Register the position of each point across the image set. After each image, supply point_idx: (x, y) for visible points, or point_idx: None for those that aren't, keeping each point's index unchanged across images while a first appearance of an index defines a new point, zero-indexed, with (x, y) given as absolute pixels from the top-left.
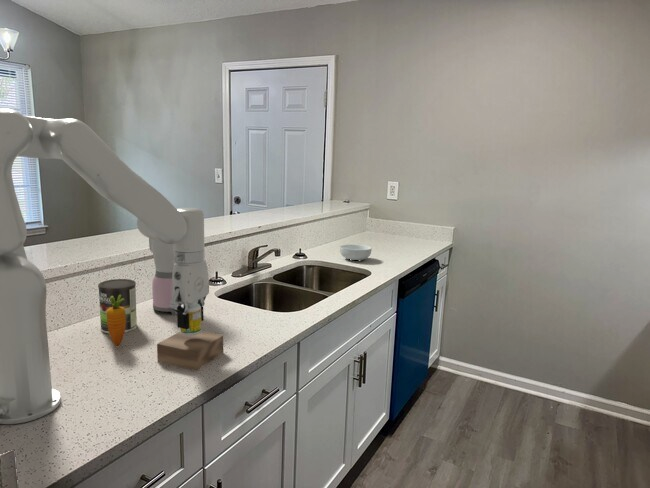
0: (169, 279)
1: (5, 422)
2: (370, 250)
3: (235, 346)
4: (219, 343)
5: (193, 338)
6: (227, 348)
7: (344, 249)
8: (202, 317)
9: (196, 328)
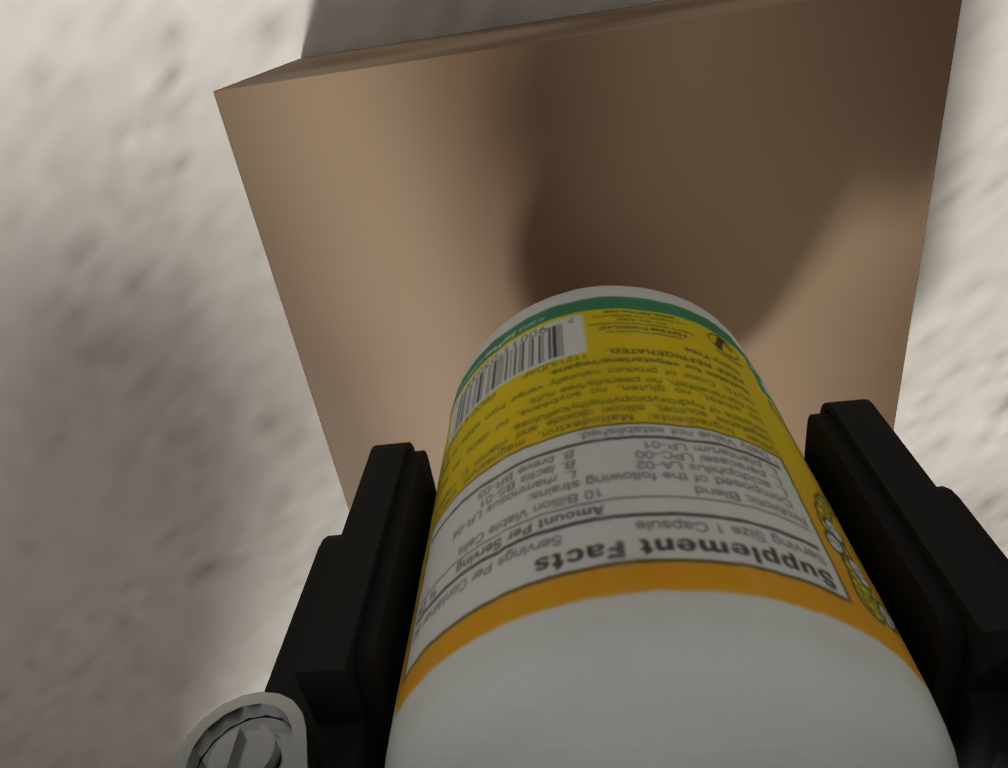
0: None
1: None
2: None
3: (88, 47)
4: (343, 62)
5: None
6: (194, 93)
7: None
8: (390, 479)
9: (674, 334)
